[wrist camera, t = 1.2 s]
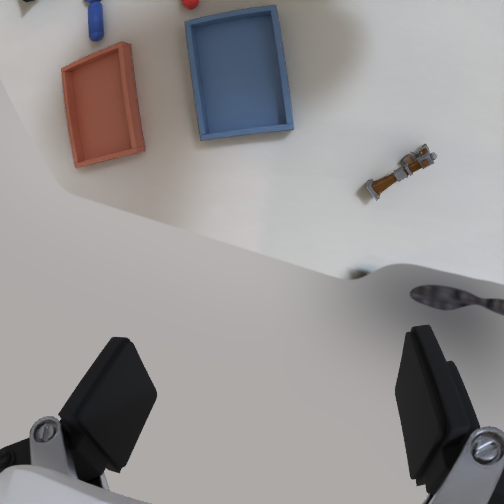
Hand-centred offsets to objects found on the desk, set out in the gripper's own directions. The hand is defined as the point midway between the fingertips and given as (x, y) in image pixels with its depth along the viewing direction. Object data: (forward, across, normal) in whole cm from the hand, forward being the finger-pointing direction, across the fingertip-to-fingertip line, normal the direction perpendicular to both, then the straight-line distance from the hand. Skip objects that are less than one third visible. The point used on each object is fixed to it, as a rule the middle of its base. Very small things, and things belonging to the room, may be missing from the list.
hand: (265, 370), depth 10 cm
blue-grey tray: (+26, +3, -13) cm, 29 cm away
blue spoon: (+26, +19, -27) cm, 42 cm away
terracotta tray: (+25, +20, -13) cm, 35 cm away
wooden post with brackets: (+26, -11, -1) cm, 28 cm away
